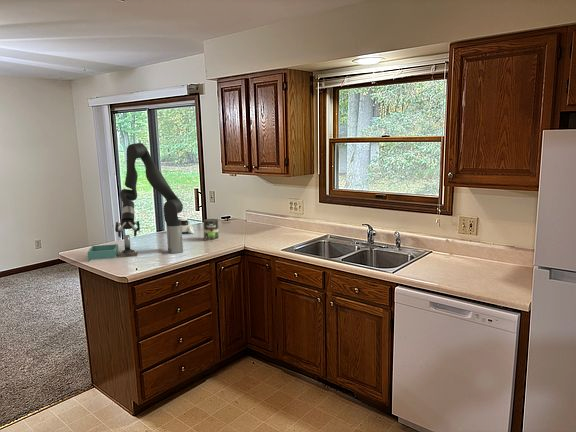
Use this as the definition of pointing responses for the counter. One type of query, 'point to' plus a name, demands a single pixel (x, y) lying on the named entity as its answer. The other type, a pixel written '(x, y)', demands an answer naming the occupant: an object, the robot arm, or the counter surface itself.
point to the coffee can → (211, 229)
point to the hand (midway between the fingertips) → (127, 236)
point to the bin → (103, 252)
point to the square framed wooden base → (127, 254)
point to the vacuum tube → (127, 244)
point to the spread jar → (186, 226)
